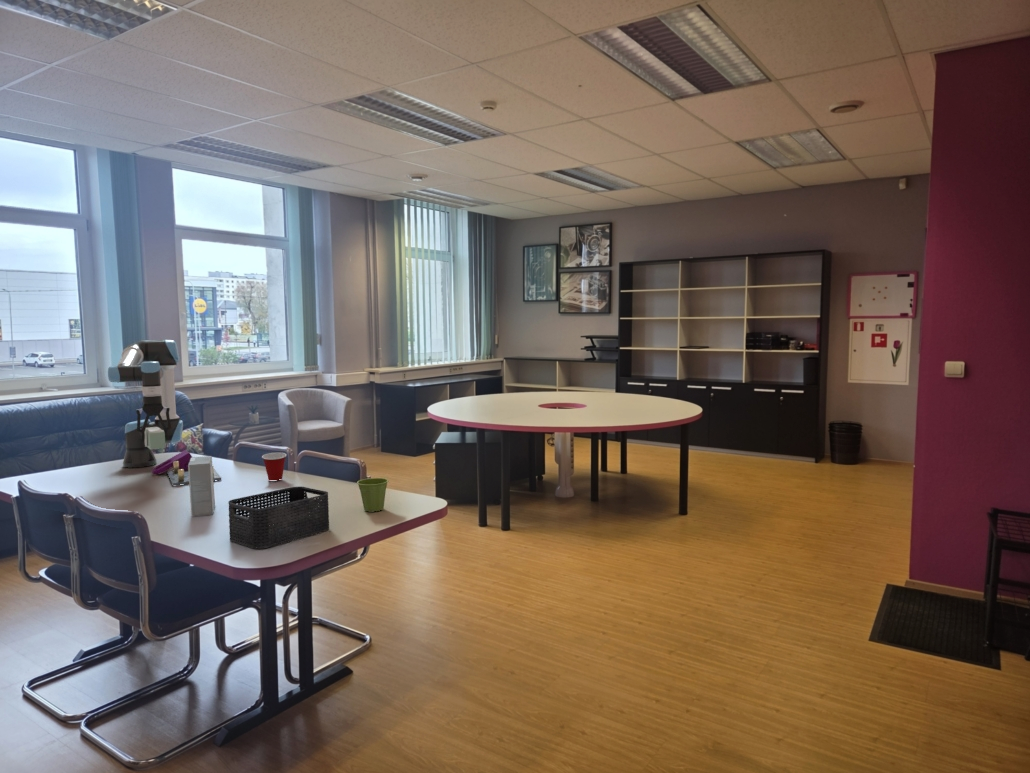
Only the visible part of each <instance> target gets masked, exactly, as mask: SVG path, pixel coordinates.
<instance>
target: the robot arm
mask: <svg viewBox="0 0 1030 773" xmlns="http://www.w3.org/2000/svg"><path fill="white" fill-rule="evenodd" d="M179 353H180V352H179V348H178V344H177V342H176V341H175V340H172V339H155V340H153V339H152V340H150V339H147V340H145V339H144V340H138V341H135V342H133V343H131V344H128V345H127V346H126V347H124V349H123V350H122V352H121V358H120V361H119V362H118V364H117V365H113V366H111V365H110V366H109V367H107V378H108V381H109V382H110V383H132V382H133V383H134V382H135V383H137V382H138V383H139V382H141V387H142V388H141V389H142V404H143V406H142V408H139V409H138V408H137V409H136V410H135V412H136V415H137V416H136V418H137V419H136V420H135V421H131V422H127V423H126V424H125V426H124V438H125V454H124V458H123V461H122V467H123V468H125V467H128V468H127V469H133V468H132V467H139V468H145V467H144V466H147V467H150V466H149V465H152V466H154V465H153V464H155V465H156V464H157V458H156V456H155V453H154V451H153V449H152V450H150V449H149V448H148V447H147V433H146V432H145V429H146V428H149V427H159V428H160V429H162V430H163V432H165V444H176V443H179V442H180V441H182V436H183V430H184V421H183V420H181V419H180V416H179V415H178V414H177V406H176V389H175V388H176V387H175V368H176V367H177V365H178V364H177V363H180V359H181V358H180V354H179ZM139 364H140V365H139ZM143 412H144V413H145V414H146V415H145V418H144V419H141V414H142V413H143ZM153 416H154V417H155V418H154V421H151V419H150V417H153ZM144 439H145V440H144Z"/></svg>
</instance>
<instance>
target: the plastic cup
mask: <svg viewBox="0 0 1030 773" xmlns="http://www.w3.org/2000/svg"><path fill="white" fill-rule="evenodd" d="M287 456H288V455H287V453H285V452H270V453H265V454H262V456H261V458H262V460H263V463H264V467H265V471H266V475H267V480H268V481H269V480H279V479H282V480H283V476H284V469H285V463H286V458H287Z"/></svg>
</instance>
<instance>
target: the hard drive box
mask: <svg viewBox="0 0 1030 773" xmlns="http://www.w3.org/2000/svg"><path fill="white" fill-rule="evenodd" d="M212 466H213V457H212V455H205V456H204V455H203V456H192V458H191V459H190V462H189V464H188V471H189V485H188V486H189V498H190V499H189V500H190V501H189V503H190V515H191V518H194V517H204V516H212V515H213V514H214V511H215V505H216V500H215V499H216V498H215V487H214V486H215V484H214V482H215V481H214V482H213V467H214V466H213V467H212Z"/></svg>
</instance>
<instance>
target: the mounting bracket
mask: <svg viewBox="0 0 1030 773" xmlns="http://www.w3.org/2000/svg"><path fill="white" fill-rule="evenodd" d="M192 457H193V456H192V454H191V453H190V452H189V451H187V450H186V449H185V450H183V451H181V452H179V453H177V454H175V455H174V456H172V457H170V458H169V459H167V460H165V461H163V462H161V463H160V464H158V465H156V466H155V467H154V468H153V469H151V474H153V475H154V474H158V475H161V474H163V473H164V472H167V471H168V470H170V469H171V468H174V467H173V462H174V461H179V469H184V470H185V469H188V464H189V462H190V459H191V458H192Z"/></svg>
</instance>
